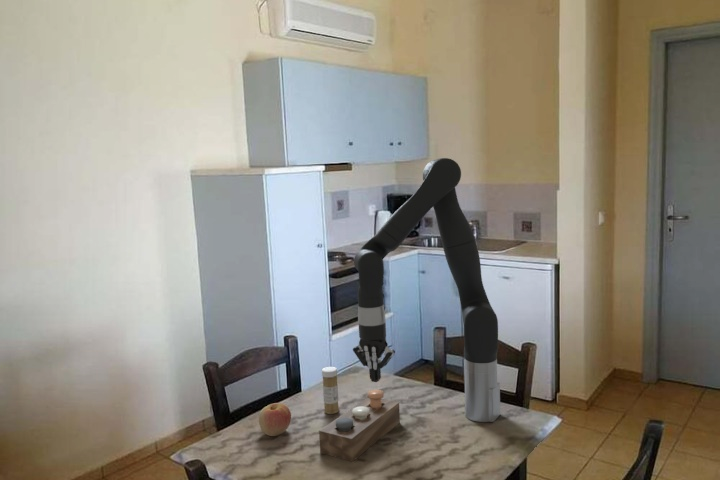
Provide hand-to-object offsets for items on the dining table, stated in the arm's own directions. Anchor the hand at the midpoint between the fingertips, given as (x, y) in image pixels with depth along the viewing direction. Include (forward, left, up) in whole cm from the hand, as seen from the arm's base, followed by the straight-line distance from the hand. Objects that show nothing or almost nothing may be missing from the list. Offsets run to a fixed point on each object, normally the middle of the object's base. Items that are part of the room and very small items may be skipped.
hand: (375, 380), depth 167 cm
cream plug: (0, +8, -13) cm, 15 cm away
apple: (+23, +17, -13) cm, 32 cm away
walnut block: (0, +8, -13) cm, 15 cm away
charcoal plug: (0, +16, -13) cm, 20 cm away
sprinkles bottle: (+17, -2, -13) cm, 22 cm away
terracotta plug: (0, 0, -11) cm, 11 cm away
